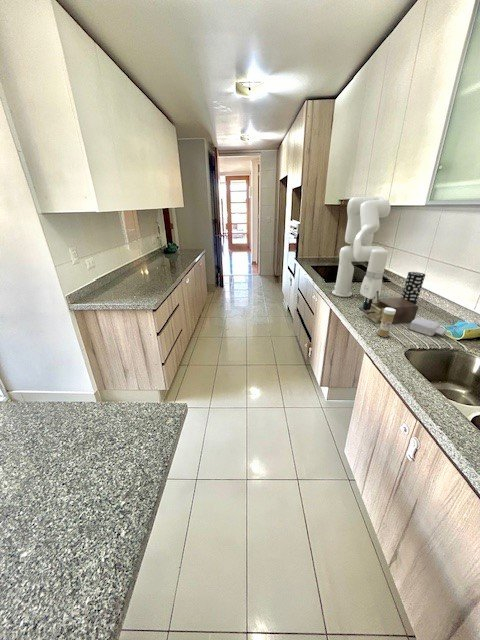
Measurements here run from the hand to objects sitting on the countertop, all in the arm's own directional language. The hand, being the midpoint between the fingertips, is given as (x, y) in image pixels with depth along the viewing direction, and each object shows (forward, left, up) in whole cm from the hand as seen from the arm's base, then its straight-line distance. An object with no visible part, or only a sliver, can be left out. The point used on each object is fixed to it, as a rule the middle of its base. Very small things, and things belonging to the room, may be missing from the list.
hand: (366, 309), depth 135 cm
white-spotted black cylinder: (-14, +37, -6) cm, 40 cm away
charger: (+18, +23, -6) cm, 30 cm away
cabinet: (0, +17, -6) cm, 18 cm away
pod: (-14, +11, -6) cm, 19 cm away
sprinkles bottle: (+17, -1, -6) cm, 18 cm away
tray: (0, +7, -5) cm, 9 cm away
